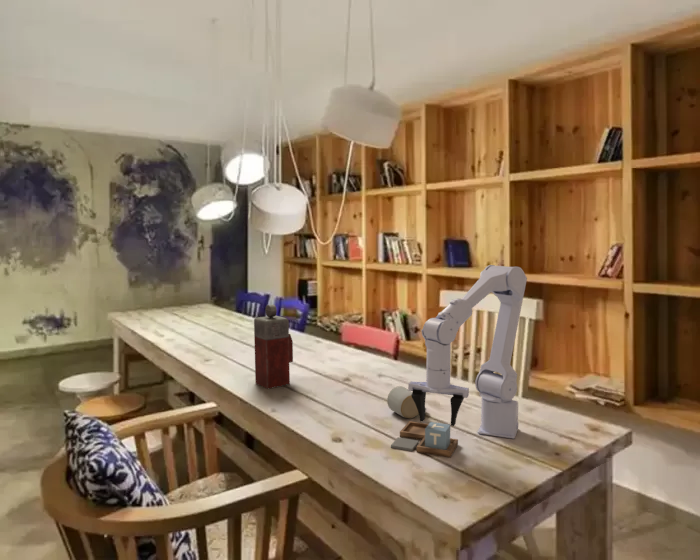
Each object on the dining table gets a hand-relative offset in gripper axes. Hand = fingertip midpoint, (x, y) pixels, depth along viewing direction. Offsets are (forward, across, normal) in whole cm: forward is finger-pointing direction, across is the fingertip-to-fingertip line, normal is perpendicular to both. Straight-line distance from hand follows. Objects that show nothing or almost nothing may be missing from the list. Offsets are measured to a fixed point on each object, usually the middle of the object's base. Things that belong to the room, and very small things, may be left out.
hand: (437, 422), depth 131 cm
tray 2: (+7, 0, 0) cm, 7 cm away
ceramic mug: (+7, -14, +21) cm, 26 cm away
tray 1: (+7, -7, +8) cm, 12 cm away
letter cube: (+6, 0, 0) cm, 6 cm away
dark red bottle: (+7, -67, +33) cm, 75 cm away
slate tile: (+7, -8, -1) cm, 10 cm away
